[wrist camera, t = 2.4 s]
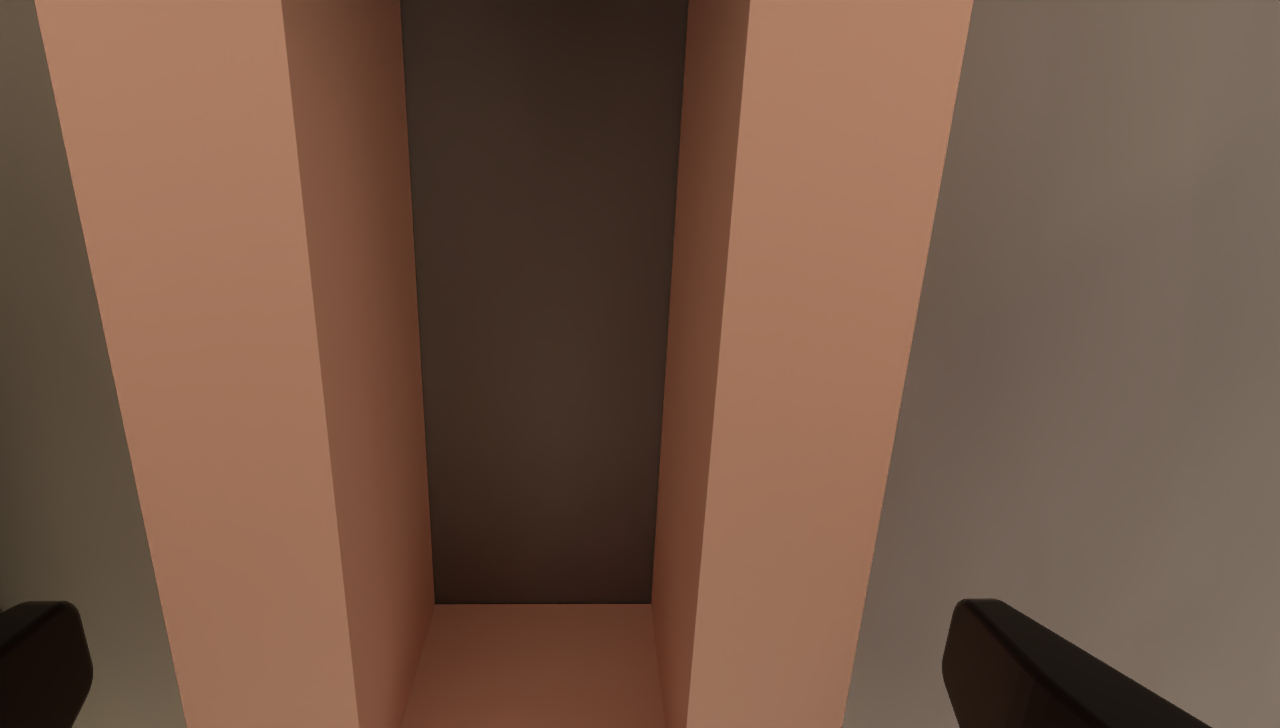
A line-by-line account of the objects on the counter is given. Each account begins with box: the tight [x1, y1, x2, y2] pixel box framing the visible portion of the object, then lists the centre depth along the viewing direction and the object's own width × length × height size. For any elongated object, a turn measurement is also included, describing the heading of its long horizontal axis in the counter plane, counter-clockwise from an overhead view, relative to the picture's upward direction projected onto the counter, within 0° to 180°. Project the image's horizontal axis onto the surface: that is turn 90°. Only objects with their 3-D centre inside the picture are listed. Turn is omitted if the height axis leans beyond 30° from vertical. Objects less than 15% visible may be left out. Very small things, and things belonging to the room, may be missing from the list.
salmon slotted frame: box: [34, 0, 974, 728], centre depth 7 cm, size 6×18×4 cm, turn 177°
